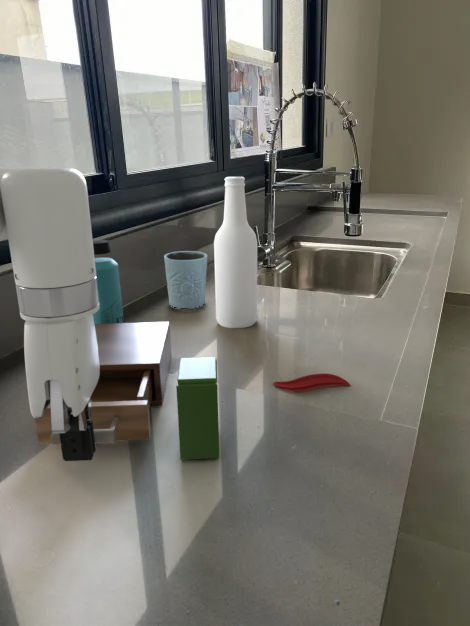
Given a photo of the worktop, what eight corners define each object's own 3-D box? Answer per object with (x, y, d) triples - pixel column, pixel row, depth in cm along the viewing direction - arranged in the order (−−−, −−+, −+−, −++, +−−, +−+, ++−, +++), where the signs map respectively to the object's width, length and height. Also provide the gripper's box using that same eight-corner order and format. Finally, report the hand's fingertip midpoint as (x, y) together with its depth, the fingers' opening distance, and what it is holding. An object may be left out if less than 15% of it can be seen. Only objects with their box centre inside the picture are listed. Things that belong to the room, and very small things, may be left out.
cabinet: (162, 406, 72) (159, 363, 69) (58, 410, 71) (52, 366, 69) (171, 357, 88) (169, 321, 86) (87, 360, 88) (83, 324, 86)
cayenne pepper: (271, 390, 76) (271, 379, 75) (274, 377, 80) (274, 366, 80) (351, 395, 74) (352, 383, 73) (349, 381, 78) (350, 370, 78)
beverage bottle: (122, 351, 92) (112, 243, 85) (86, 351, 92) (74, 244, 85) (130, 338, 98) (121, 237, 91) (96, 338, 98) (85, 237, 92)
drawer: (145, 461, 57) (141, 424, 56) (25, 466, 57) (18, 429, 55) (161, 380, 77) (160, 351, 76) (73, 383, 77) (70, 354, 75)
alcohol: (248, 331, 101) (247, 178, 91) (209, 326, 104) (204, 178, 94) (262, 318, 108) (263, 176, 99) (225, 313, 112) (222, 175, 102)
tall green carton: (180, 462, 59) (176, 382, 55) (183, 428, 66) (179, 355, 62) (219, 461, 59) (217, 381, 55) (218, 427, 66) (216, 354, 63)
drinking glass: (186, 296, 126) (183, 249, 122) (217, 302, 120) (216, 253, 116) (157, 306, 118) (154, 256, 114) (190, 313, 112) (187, 261, 109)
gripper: (45, 279, 56) (65, 422, 62) (-13, 323, 42) (20, 503, 48) (112, 277, 56) (125, 420, 62) (77, 320, 42) (99, 500, 48)
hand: (79, 456), depth 55 cm, fingers closed
